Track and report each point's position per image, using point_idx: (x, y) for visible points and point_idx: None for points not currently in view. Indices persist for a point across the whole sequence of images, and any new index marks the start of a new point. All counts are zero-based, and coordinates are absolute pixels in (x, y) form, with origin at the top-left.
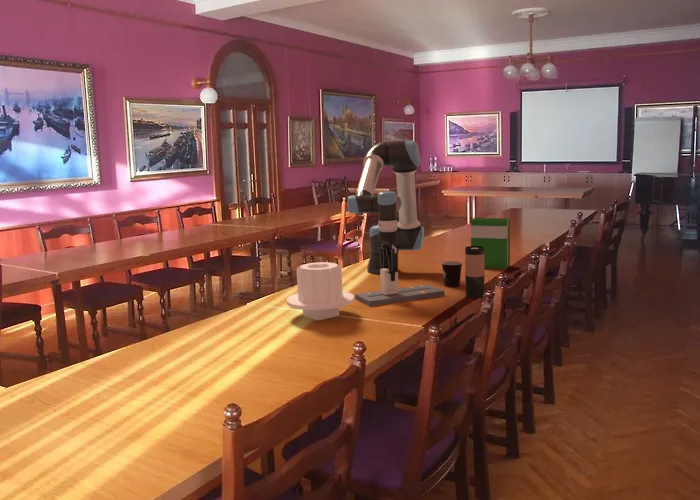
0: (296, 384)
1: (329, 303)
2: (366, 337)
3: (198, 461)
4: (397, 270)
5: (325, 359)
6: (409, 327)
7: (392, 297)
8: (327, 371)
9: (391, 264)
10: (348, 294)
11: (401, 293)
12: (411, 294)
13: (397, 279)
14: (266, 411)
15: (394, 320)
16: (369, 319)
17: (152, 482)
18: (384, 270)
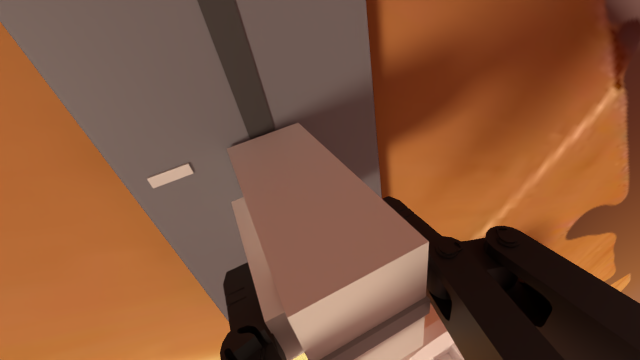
0: (601, 264)
1: None
2: (568, 217)
3: (624, 279)
4: (522, 239)
5: (581, 256)
6: (597, 126)
7: (369, 165)
8: (605, 245)
9: (567, 356)
10: (449, 335)
11: (291, 97)
12: (344, 23)
13: (349, 175)
14: (615, 269)
15: (537, 160)
16: (490, 224)
17: (620, 289)
18: (418, 346)
